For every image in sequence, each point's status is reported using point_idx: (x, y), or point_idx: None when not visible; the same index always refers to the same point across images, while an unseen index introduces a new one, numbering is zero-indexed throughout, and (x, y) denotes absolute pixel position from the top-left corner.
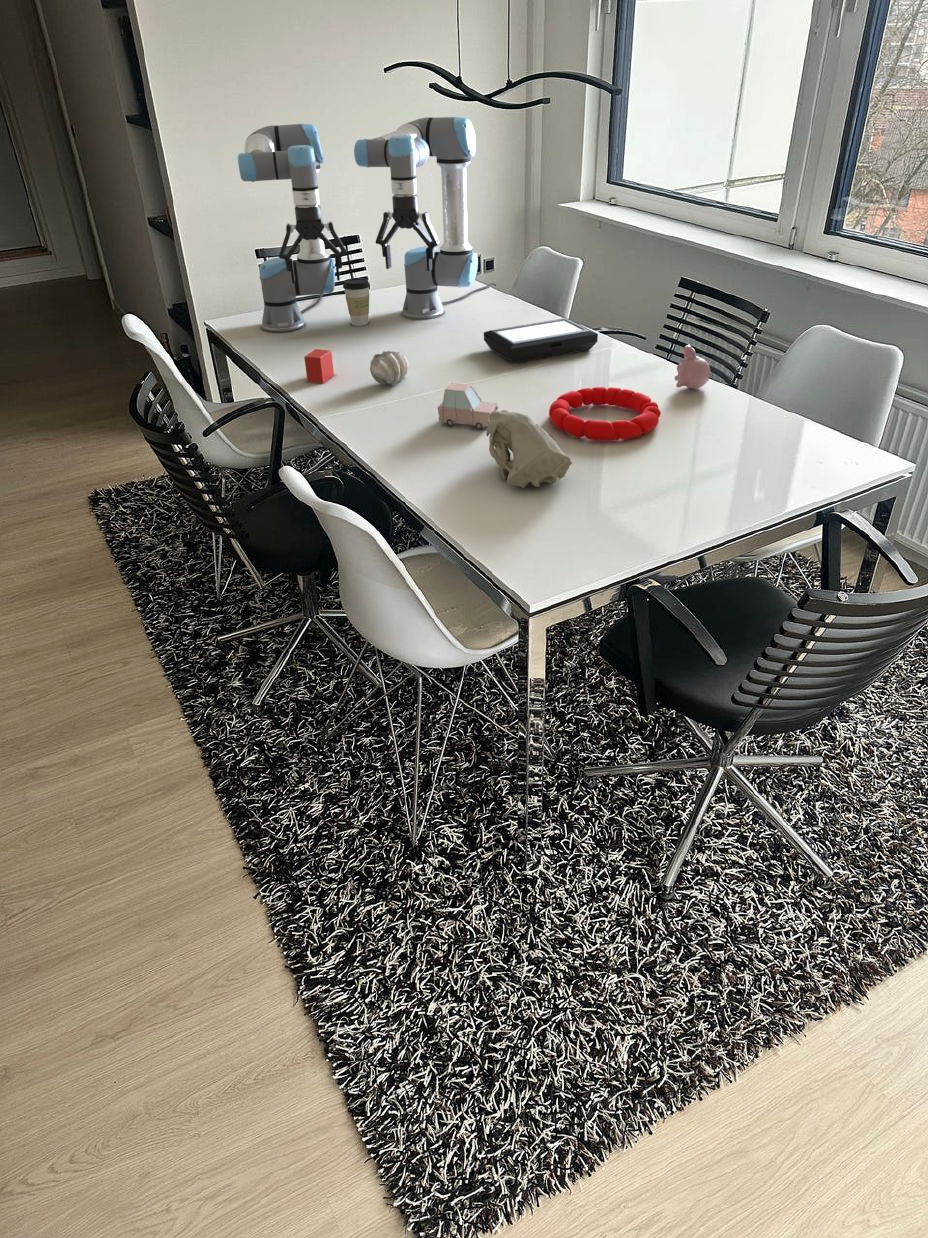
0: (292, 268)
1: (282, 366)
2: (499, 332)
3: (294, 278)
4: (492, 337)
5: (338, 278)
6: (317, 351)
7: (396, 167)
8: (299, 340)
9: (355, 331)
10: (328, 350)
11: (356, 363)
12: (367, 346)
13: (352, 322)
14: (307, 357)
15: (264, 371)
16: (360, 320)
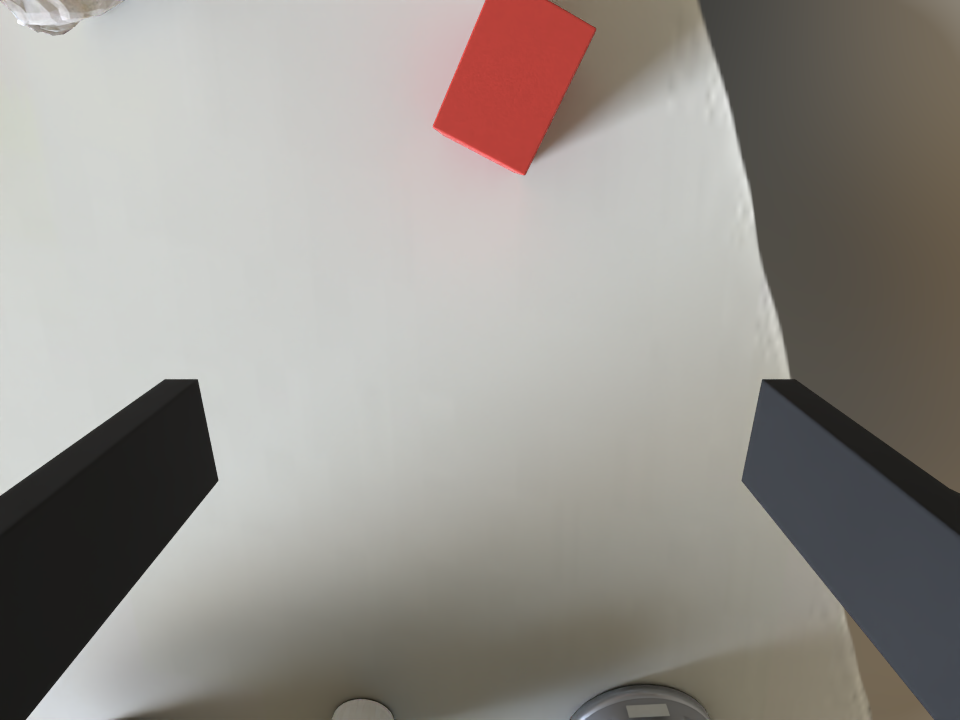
0: (906, 485)
1: (673, 311)
2: None
3: (777, 446)
4: None
5: (164, 388)
6: (514, 120)
7: None
8: (586, 596)
9: (375, 649)
10: (449, 125)
11: (346, 285)
12: (315, 486)
13: (387, 716)
14: (576, 18)
15: (757, 260)
16: (354, 715)
